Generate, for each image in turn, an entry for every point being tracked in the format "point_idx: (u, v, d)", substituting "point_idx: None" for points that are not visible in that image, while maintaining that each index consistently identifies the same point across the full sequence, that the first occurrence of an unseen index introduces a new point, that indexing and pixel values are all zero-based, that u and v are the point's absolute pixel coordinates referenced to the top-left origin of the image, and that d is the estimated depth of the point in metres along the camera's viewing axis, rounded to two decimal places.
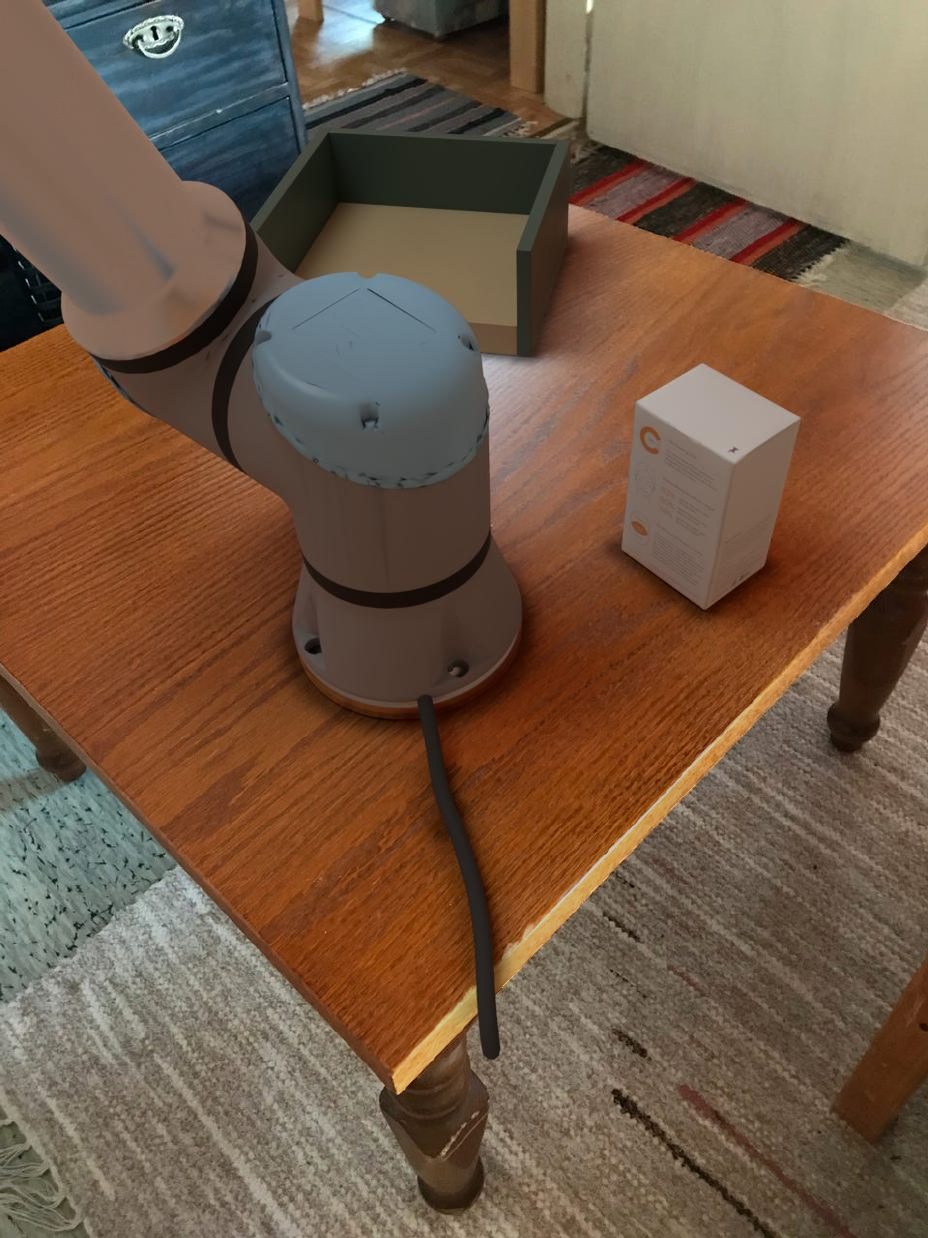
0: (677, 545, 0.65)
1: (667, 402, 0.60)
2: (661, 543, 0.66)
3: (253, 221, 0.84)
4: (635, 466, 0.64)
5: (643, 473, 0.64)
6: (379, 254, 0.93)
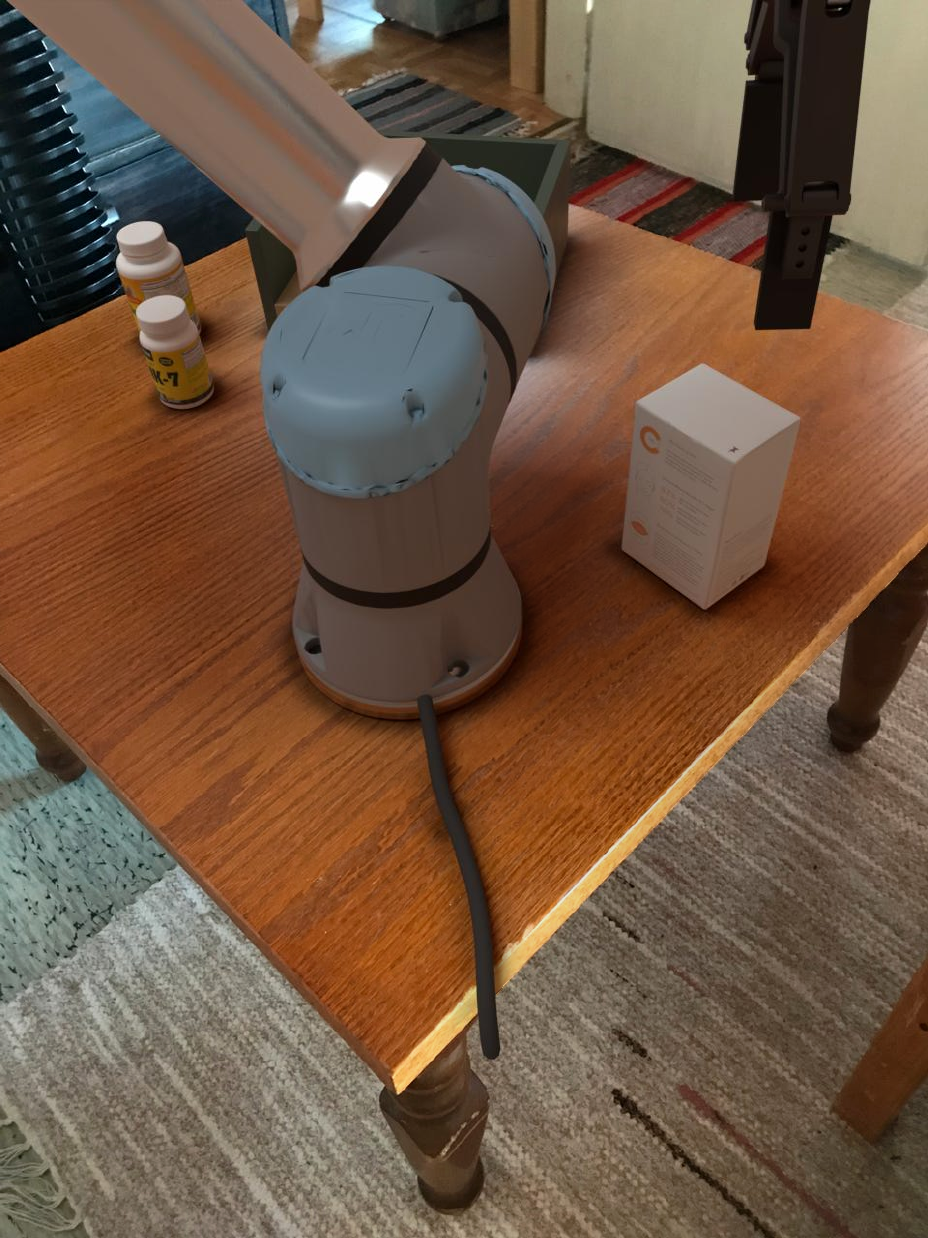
0: (677, 545, 0.65)
1: (667, 402, 0.60)
2: (661, 542, 0.66)
3: (253, 221, 0.84)
4: (635, 466, 0.64)
5: (643, 473, 0.64)
6: None
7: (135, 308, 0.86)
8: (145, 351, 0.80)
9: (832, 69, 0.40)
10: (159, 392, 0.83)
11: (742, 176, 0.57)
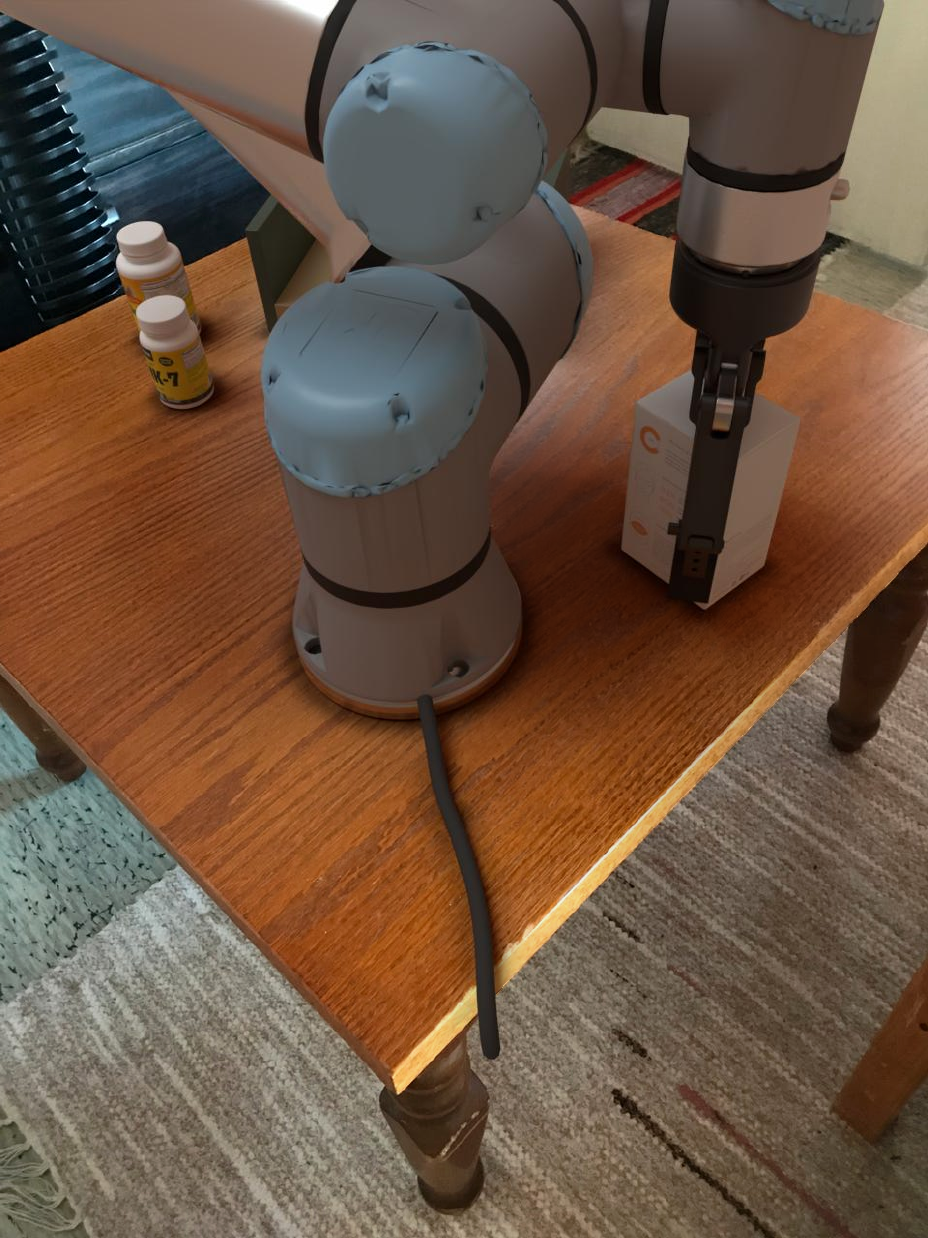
0: None
1: (667, 402, 0.60)
2: (661, 542, 0.66)
3: (253, 221, 0.84)
4: (635, 466, 0.64)
5: (643, 473, 0.64)
6: None
7: (135, 308, 0.86)
8: (145, 351, 0.80)
9: (713, 470, 0.54)
10: (159, 392, 0.83)
11: None
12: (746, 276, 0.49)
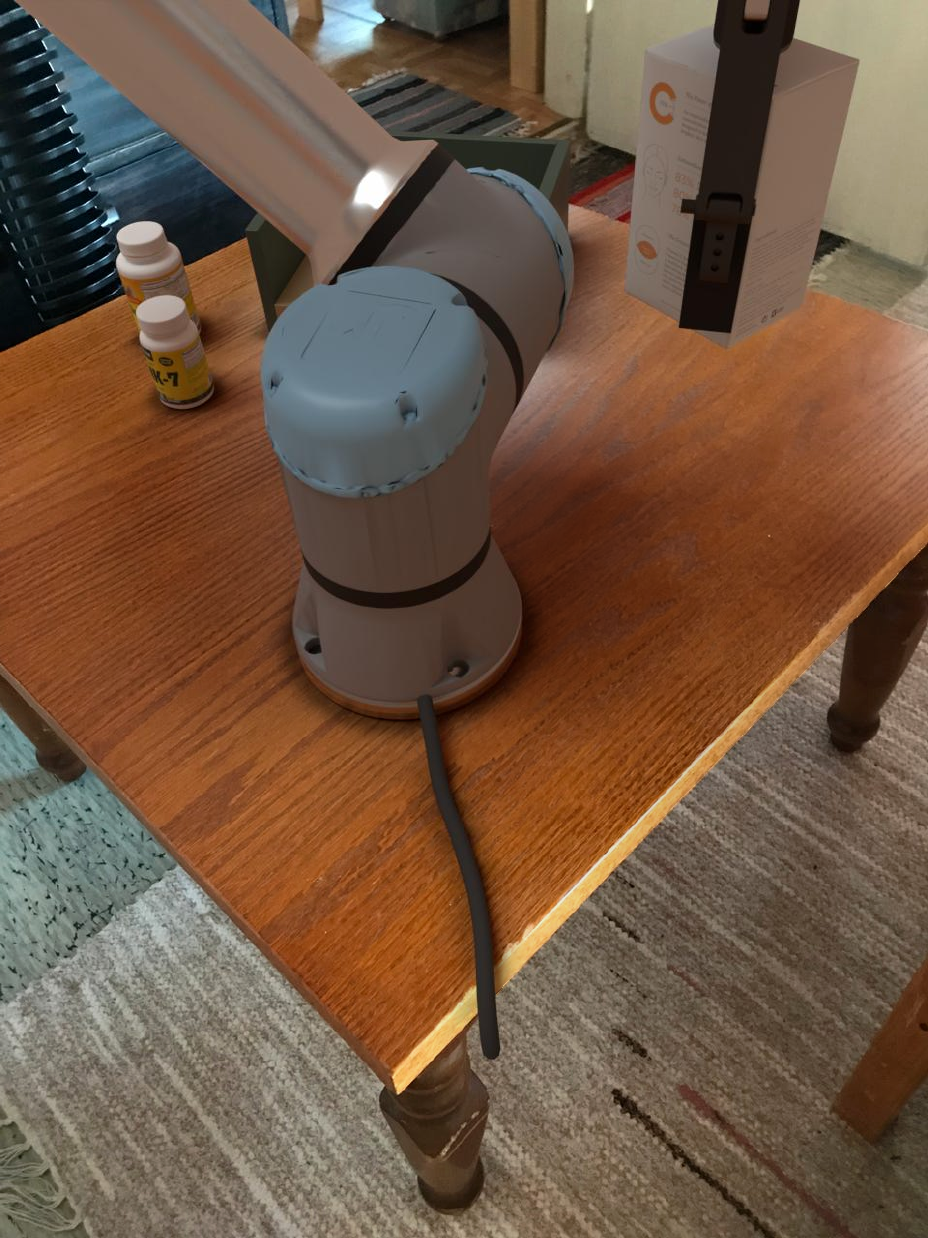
0: None
1: (685, 48, 0.47)
2: (674, 262, 0.52)
3: (253, 221, 0.84)
4: (643, 153, 0.50)
5: (653, 161, 0.50)
6: None
7: (135, 308, 0.86)
8: (145, 351, 0.80)
9: (744, 85, 0.41)
10: (159, 392, 0.83)
11: None
12: None
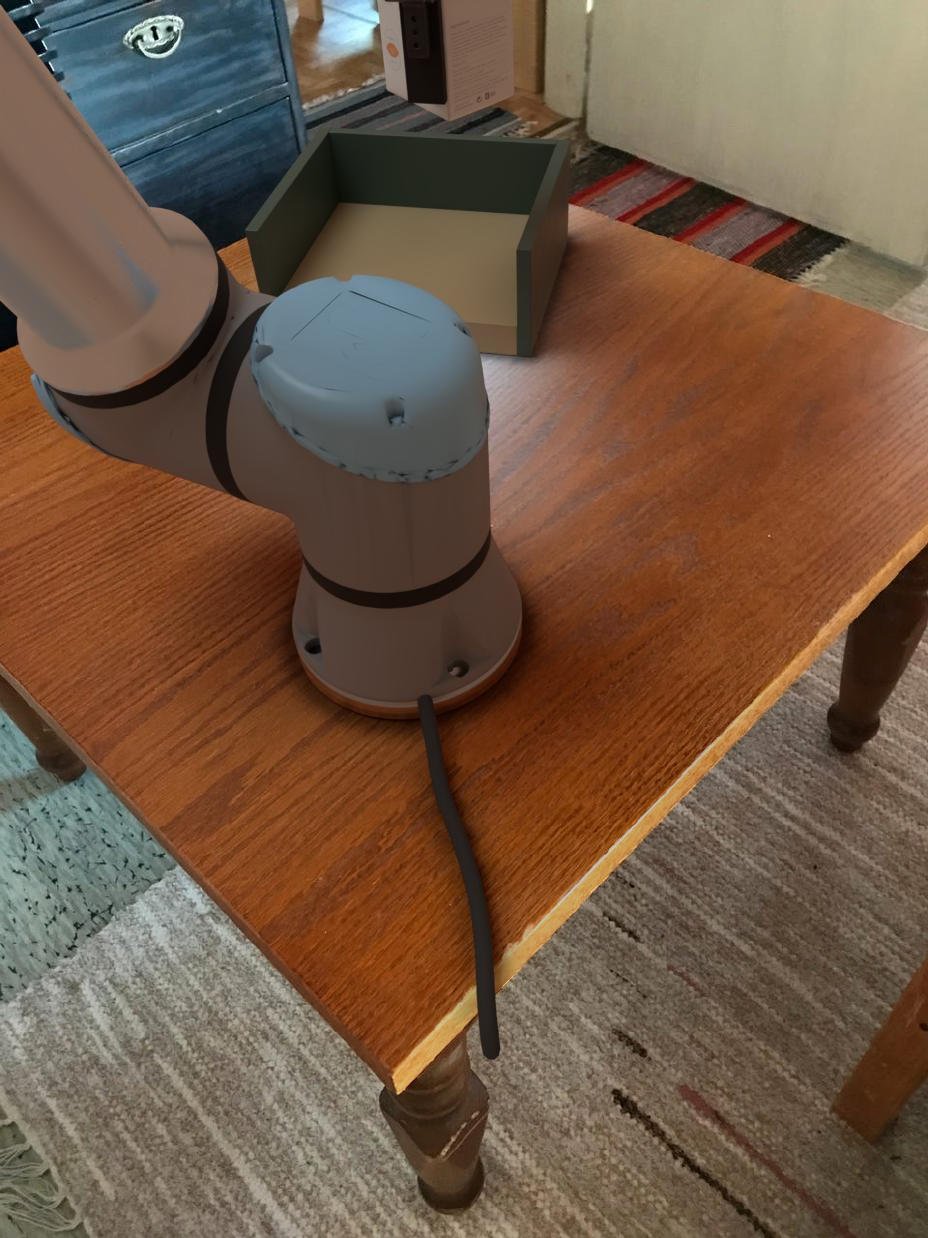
0: None
1: None
2: None
3: (253, 221, 0.84)
4: None
5: None
6: (379, 254, 0.93)
7: None
8: None
9: None
10: None
11: None
12: None
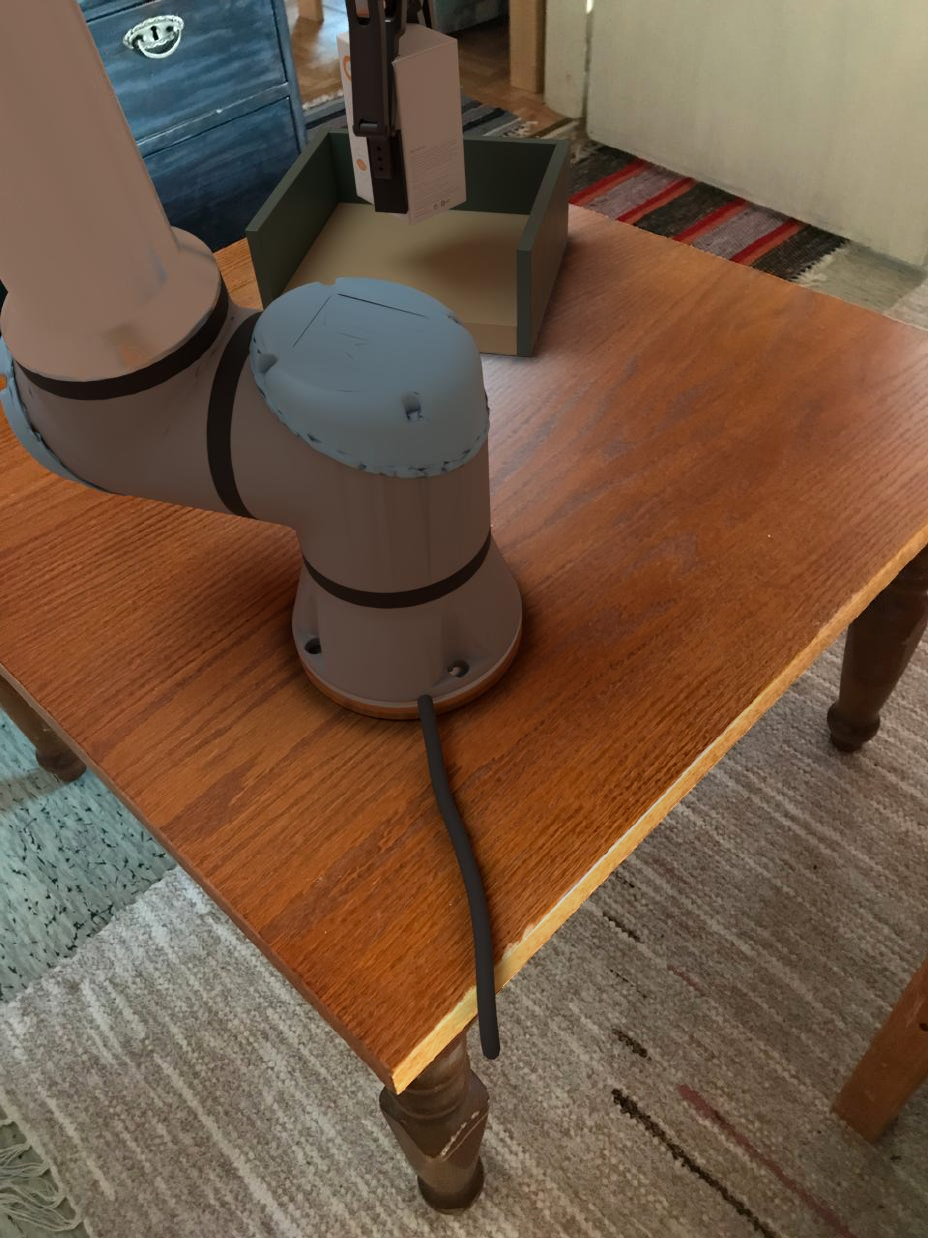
0: None
1: None
2: None
3: (253, 221, 0.84)
4: (347, 101, 0.81)
5: None
6: (379, 254, 0.93)
7: None
8: None
9: (365, 54, 0.71)
10: None
11: None
12: None
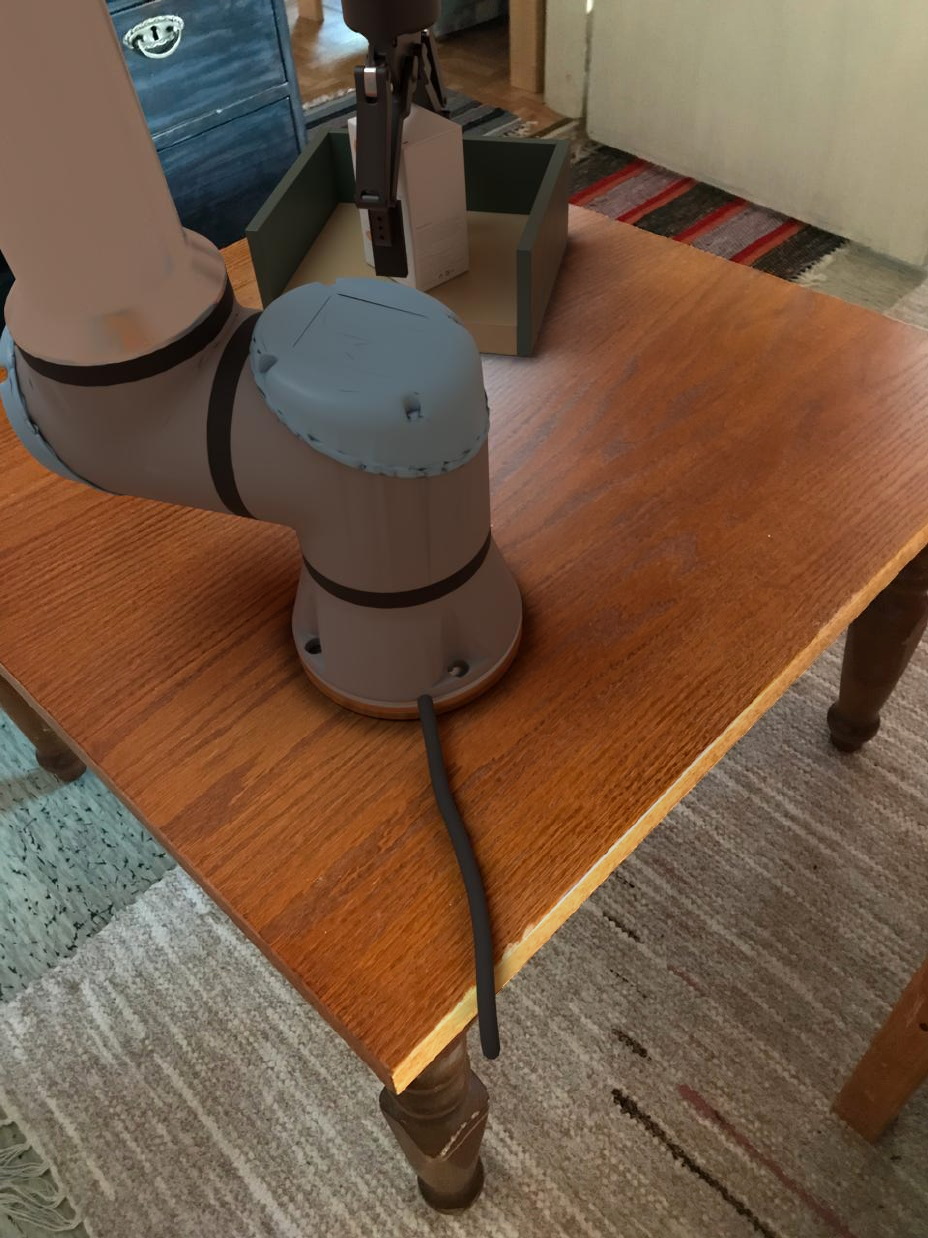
0: None
1: None
2: None
3: (253, 221, 0.84)
4: None
5: None
6: None
7: None
8: None
9: (371, 130, 0.74)
10: None
11: None
12: None
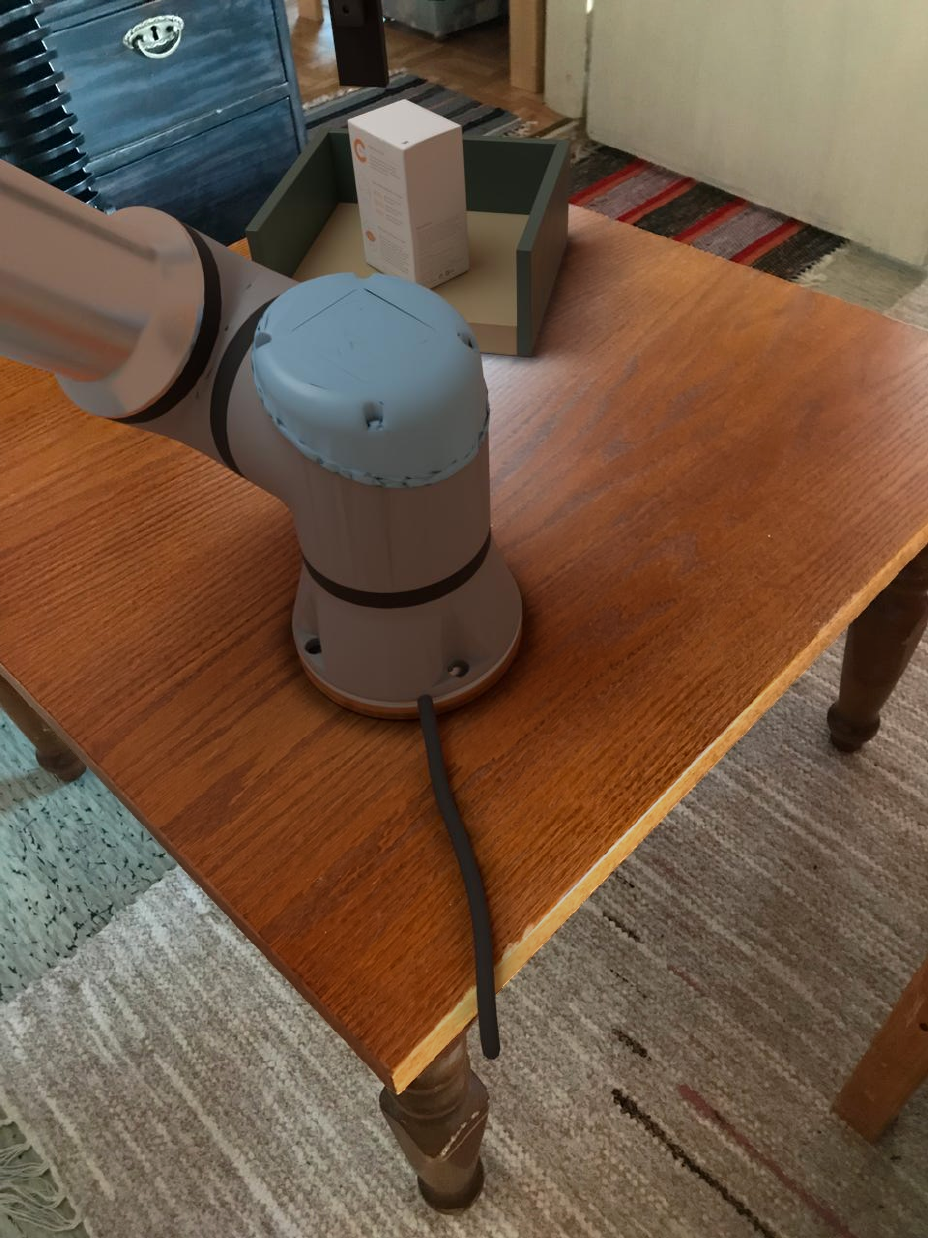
0: (391, 240, 0.86)
1: (369, 119, 0.82)
2: (383, 243, 0.87)
3: (253, 221, 0.84)
4: (357, 179, 0.86)
5: (362, 183, 0.85)
6: None
7: None
8: None
9: None
10: None
11: None
12: None
